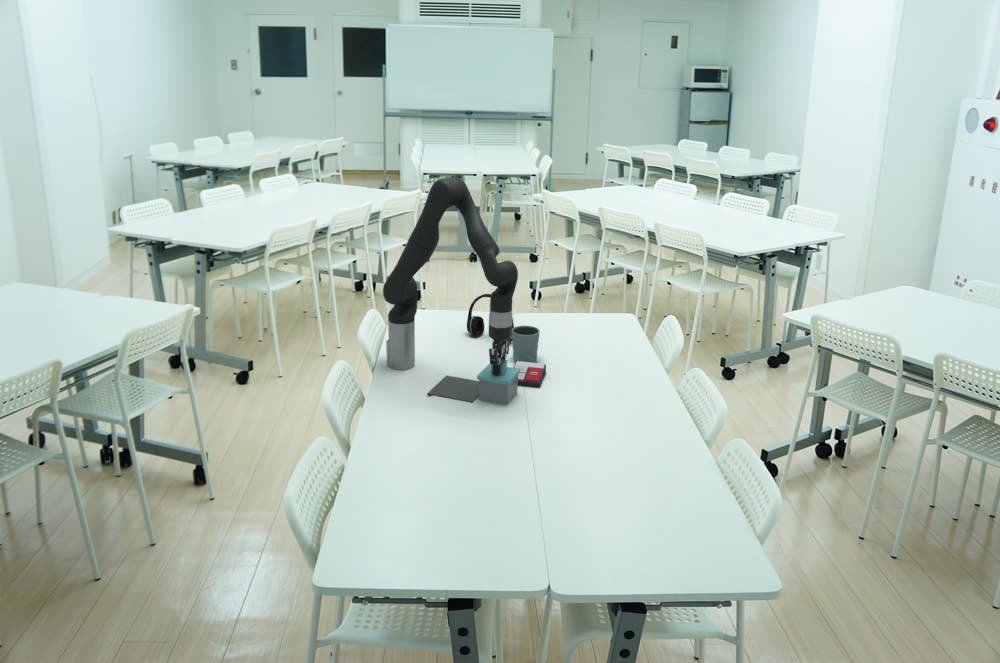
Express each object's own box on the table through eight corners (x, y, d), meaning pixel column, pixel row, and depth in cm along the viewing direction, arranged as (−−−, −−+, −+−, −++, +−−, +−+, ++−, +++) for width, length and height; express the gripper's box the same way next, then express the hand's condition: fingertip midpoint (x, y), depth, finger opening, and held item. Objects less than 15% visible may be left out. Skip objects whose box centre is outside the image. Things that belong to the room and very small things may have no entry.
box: (478, 401, 278) (479, 378, 275) (489, 389, 286) (489, 367, 284) (507, 406, 274) (508, 384, 272) (517, 394, 283) (518, 372, 280)
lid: (477, 383, 275) (477, 364, 273) (488, 371, 285) (489, 352, 282) (509, 389, 272) (509, 369, 269) (519, 376, 281) (520, 357, 279)
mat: (427, 396, 280) (427, 393, 280) (446, 378, 294) (446, 375, 294) (472, 404, 275) (472, 401, 275) (489, 385, 289) (489, 383, 289)
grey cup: (543, 362, 310) (545, 332, 306) (521, 368, 305) (522, 337, 300) (527, 353, 318) (528, 323, 313) (505, 358, 312) (506, 328, 308)
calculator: (508, 377, 288) (515, 359, 302) (507, 388, 290) (515, 370, 303) (540, 381, 286) (546, 362, 300) (539, 392, 288) (545, 373, 302)
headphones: (463, 336, 332) (464, 292, 326) (474, 331, 338) (475, 287, 331) (506, 348, 322) (508, 302, 316) (516, 342, 328) (518, 297, 321)
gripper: (497, 314, 279) (495, 362, 285) (481, 328, 266) (480, 377, 272) (518, 317, 276) (516, 365, 282) (504, 331, 264) (502, 381, 270)
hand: (498, 371), depth 277 cm, fingers open, 5 cm apart
